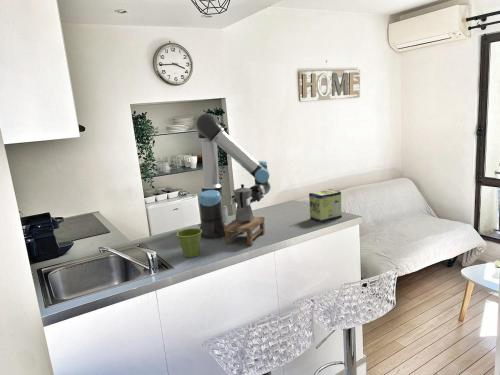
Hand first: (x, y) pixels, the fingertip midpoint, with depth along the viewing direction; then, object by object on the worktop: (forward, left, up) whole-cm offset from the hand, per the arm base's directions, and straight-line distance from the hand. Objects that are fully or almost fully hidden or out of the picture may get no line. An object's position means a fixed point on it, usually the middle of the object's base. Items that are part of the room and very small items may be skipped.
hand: (239, 202), depth 187 cm
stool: (0, +5, -20) cm, 21 cm away
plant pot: (-17, -21, -21) cm, 34 cm away
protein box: (+33, +47, -21) cm, 61 cm away
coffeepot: (0, +4, -10) cm, 11 cm away
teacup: (-29, +35, -21) cm, 50 cm away
